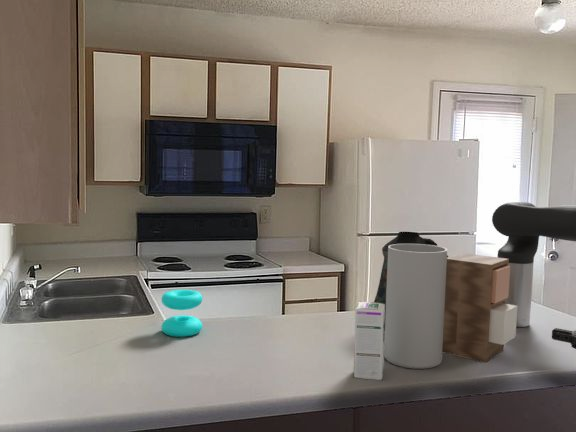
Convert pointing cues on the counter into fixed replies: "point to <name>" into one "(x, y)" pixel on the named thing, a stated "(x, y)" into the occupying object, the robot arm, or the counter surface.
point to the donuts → (182, 323)
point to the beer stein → (400, 239)
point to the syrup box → (369, 340)
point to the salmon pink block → (500, 283)
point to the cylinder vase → (415, 305)
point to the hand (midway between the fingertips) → (553, 333)
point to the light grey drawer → (502, 323)
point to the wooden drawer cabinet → (470, 306)
